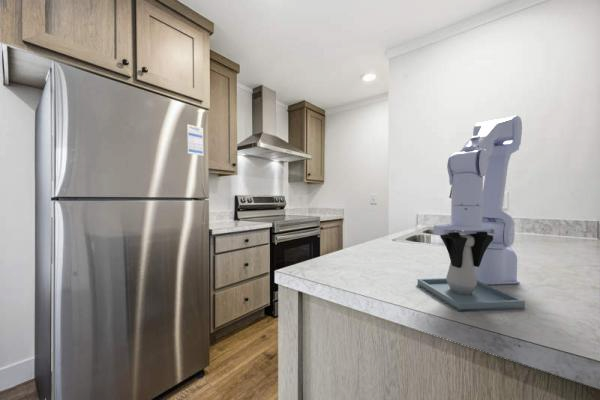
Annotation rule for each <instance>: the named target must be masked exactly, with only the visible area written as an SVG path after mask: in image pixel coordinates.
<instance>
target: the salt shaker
mask: <svg viewBox="0 0 600 400" xmlns="http://www.w3.org/2000/svg"><path fill="white" fill-rule="evenodd" d="M460 235H461V237H464V238H467V241H466V243H465V246H464V250H463V260H462V266H461V268H457V267H455V266H452V265H451V262H449V266H448V271H447V274H446V277H445V278H446V281H447V283H448V285H449V287H450V289H451V291H453V292H455V293H458V294H463V295H469V294H471V293H472V292H473V290H474V289H475V287H476V285H477V281H476V275H475V268H474V262H473V256H472V250H471V246H474V243H475V240H474V238H473V237H472V236H470V235H466V234H460Z"/></svg>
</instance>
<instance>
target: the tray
mask: <svg viewBox="0 0 600 400" xmlns="http://www.w3.org/2000/svg"><path fill="white" fill-rule="evenodd" d="M476 281H477V280H476ZM417 286H419V287H420V288H421V289H423V290H424V291H426V292H428V293H430V294H431V295H432V296H434V297H436V298H437V299H439V300H440V301H442V302H443V303H445V304H446V305H448V306H449V307H451V308H452V309H454V310H456V311H458V312H459V313H461V312H478V311H479V312H480V311H498V310H500V311H501V310H515V309H516V310H519V309H525V308H526V307H525V304H526V303H525V302H526V301H525V300H523V299H521V298H519V297H517V296H514V295H512V294H510V293H507V292H505V291H502V290H500V289H498V288H496V287H493V286H491V285H490V284H489V285H488V284H484V283H482V282H479V281H477V285H476V287H475V289H474V290H473V292H472V293H471V294H469V295H463V294H458V293H455V292H453V291H451V289H450V287H449V285H448V283H447V281H446V277H438V278H436V277H435V278H417Z"/></svg>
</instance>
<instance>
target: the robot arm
mask: <svg viewBox="0 0 600 400" xmlns="http://www.w3.org/2000/svg"><path fill="white" fill-rule="evenodd" d="M522 122H523V121H522V119H521V117H520V116H519V115H516V114H515V115H514V116H510V117H505V118H500V119H498V118H497V119H493V120H488V121H484V122H477V123H476V124H475V125H474V126H473V130H472V131H473V133H472V134H473V135H472V136H471V137H470V139H469V140H467V142H466V143H465V144H464V145H463V147H462V148H461V149H460V151H458V152H454V153H452V155H449V157H448V159H447V160H448V161H447V164H446V165H447V166H446V167H447V169H446V170H447V173H448V178H449V179H448V182H449V185H451V201H450V202H451V204H450V205H451V208H450V209H451V210H450V211H451V212H450V215H451V217H450V220H451V221H450V222H449V223H447V224H434V225H433V234H434V235H438V236H439V237H440V238H441V240H442V242H443V244H444V246H445V248H446V250H447V253H448V257H449V259H450V263H451V265H452V266H455V267H457V268H461V266H462V260H463V250H464V246H465V243H466V241H467V238H464V237H461V235H460V234H466V235H470V236H472V237H473V238H474V240H475V243H474V246H471V250H472V256H473V262H474V268H475V275H476V280H477V281H479V282H482V283H484V284H486V285H489V286H490V285H507V284H510V285H512V284H520V282H521V281H520V280H518V279H517V278H518V257H517V253H516V252H515V251H514V249H513V248H511V246H513V244H514V241H515V221H514V218H513V217H512V216H511V215H510V214H508V213H507V212H505V211H504V210H503V207H504V206H503V205H504V198H505V192H506V191H505V189H506V182H507V177H508V175H507V174H508V167H509V162H510V159H511V155H512V154H513V153H515V152H518V151H519V149H520V146H521V144H522V143H521V141H522V133H523V123H522Z"/></svg>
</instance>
